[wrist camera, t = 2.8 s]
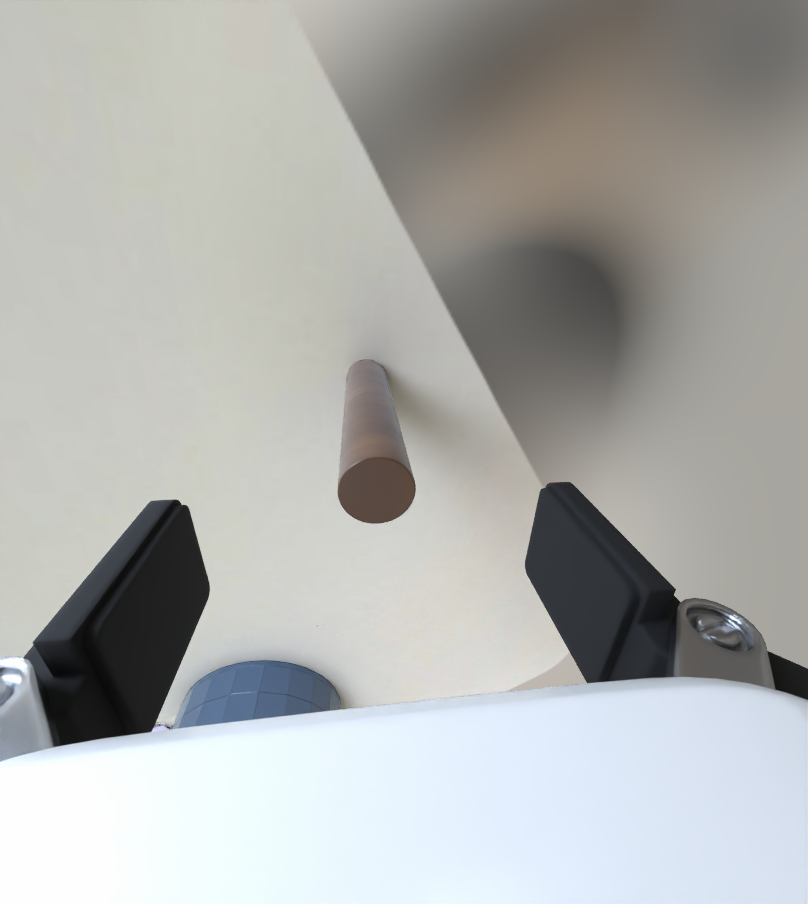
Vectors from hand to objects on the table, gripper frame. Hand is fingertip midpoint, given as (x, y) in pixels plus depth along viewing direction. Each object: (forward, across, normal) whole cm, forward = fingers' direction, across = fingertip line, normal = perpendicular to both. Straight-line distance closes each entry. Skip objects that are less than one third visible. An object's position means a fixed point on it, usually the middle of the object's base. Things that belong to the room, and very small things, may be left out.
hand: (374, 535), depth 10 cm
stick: (+16, 0, 0) cm, 17 cm away
